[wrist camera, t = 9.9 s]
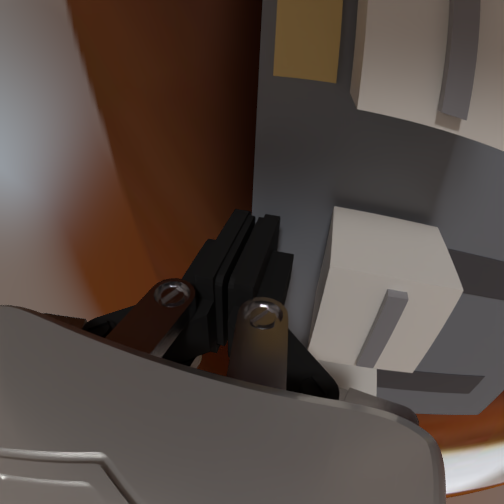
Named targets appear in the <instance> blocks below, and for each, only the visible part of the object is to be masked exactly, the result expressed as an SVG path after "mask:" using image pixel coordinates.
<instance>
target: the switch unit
mask: <svg viewBox="0 0 504 504" xmlns="http://www.w3.org/2000/svg"><path fill="white" fill-rule="evenodd" d="M357 10H358V0H263V2H262V22H261V41H260V61H259V80H258V100H257V120H256V140H255V160H254V180H253V201H252V216H255V218H256V220H255V224H256V222H257V220H258V218H259V217H264V216H265V214H270V215H276V216H280V228H279V237H278V247H277V251H279V252H285V253H290V254H294V259H293V266H292V272H291V278H290V283H289V288H288V292H287V297H286V301H285V305H284V307H285V308H286V310H287V312H288V328H289V330H290V331H291V332H292V333H293V334H294V335H295V336H296V338H297V339H298V340H299V341H300V342H301V343H302V344H303V345H304V347H305V348H306V349H307V348H308V342H309V336H310V329H311V323H312V317H313V310H314V303H315V296H316V290H317V286H318V281H319V277H320V272H321V268H322V263H323V259H324V254H325V249H326V244H327V240H328V235H329V230H330V225H331V220H332V214H333V209H334V206H337V207H342V208H348V209H353V210H358V211H363V212H369V213H374V214H379V215H383V216H388V217H393V218H398V219H403V220H407V221H412V222H416V223H421V224H425V225H430V226H434V227H438V229H439V231H440V233H441V236H442V238H443V240H444V243H445V245H446V247H447V249H448V252H449V254H450V257H451V259H452V261H453V264H454V266H455V269H456V272H457V274H458V277H459V279H460V282H461V285H462V287H463V290H464V291H463V293H462V295H461V296H460V298H459V300H458V302H457V304H456V305H455V307H454V309H453V311H452V312H451V314H450V316H449V318H448V319H447V321H446V323H445V324H444V326H443V328H442V329H441V331H440V332H439V334H438V336H437V337H436V339H435V340H434V342H433V344H432V345H431V347H430V348H429V350H428V351H427V353H426V354H425V356H424V357H423V359H422V360H421V362H420V363H419V364H418V366H417V367H416V369H415V370H414V372H413V373H408V372H399V371H390V370H382V369H377V394H376V397H379V398H382V399H385V400H388V401H391V402H394V403H397V404H400V405H403V406H406V407H408V408H410V409H411V410H412V411H413V412H414V413H420V414H449V415H477V414H479V413H480V412H481V411H482V410H484V409H485V408H486V407H487V406H488V405H489V404H490V403H491V402H492V401H493V400H494V399H495V398H496V397H497V396H498V395H499V394H500V393H501V392H502V391H503V390H504V151H502V150H499V149H497V148H494V147H491V146H489V145H486V144H483V143H480V142H478V141H475V140H472V139H469V138H466V137H463V136H460V135H457V134H454V133H450V132H447V131H444V130H441V129H437V128H434V127H430V126H427V125H423V124H419V123H415V122H412V121H408V120H404V119H400V118H395V117H391V116H387V115H382V114H378V113H373V112H368V111H363V110H358V109H357V108H356V106H355V103H354V101H353V99H352V96H351V94H350V87H351V78H352V69H353V59H354V48H355V37H356V24H357Z"/></svg>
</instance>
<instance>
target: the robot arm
mask: <svg viewBox="0 0 504 504" xmlns="http://www.w3.org/2000/svg"><path fill="white" fill-rule="evenodd" d="M255 220H256V218H255V216H252V215H251V212H250V211H245V210H238V209H235V210H234V212H233V213H232V215H231V217H230V218H229V220H228V221H227V223H226V225H225V226H224V228H223V229H222V231H221V233H220V234H219V236H218V237H217V239H216V240H213V239H208V240H207V241H206V242H205V244H204V245H203V247H202V248H201V250H200V251H199V253H198V254H197V256H196V257H195V259H194V261H193V262H192V264H191V265H190V267H189V268H188V270H187V271H186V273H185V275H184V276H183V278H182V279H178V278H171V279H166V280H163V281H161V282H158V283H157V284H156V285H154V286H153V287H152V288H151V289H150V290H149V291H148V293H147V294H146V295H145V296H144V297H143V298H142V299H141V300H140V301H139V302H138V303H137V304H136V305H134V306H131V307H128V308H125V309H122V310H119V311H115V312H112V313H109V314H106V315H103V316H100V317H97V318H94V319H92V320H90V321H89V322H87V321H86V319H82V318H75V317H68V316H60V315H55V314H48V313H40V312H37V311H34V310H31V309H27V308H24V307H19V306H12V305H0V504H446V480H445V469H444V463H443V458H442V454H441V451H440V448H439V446H438V444H437V442H436V441H435V439H434V438H433V437H432V436H431V435H430V434H429V433H428V432H426V431H425V430H424V429H422V428H421V427H419V421H418V418H417V416H416V414H415V413H414V412H413V411H412V410H411V409H410V408H408V407H406V406H403V405H400V404H397V403H394V402H391V401H388V400H385V399H382V398H379V397H376V396H373V395H370V394H367V393H364V392H362V391H359V390H356V389H353V388H349V390H346V389H343V388H341V387H338V385H337V383H336V382H335V380H334V379H333V378H332V377H331V376H330V374H329V373H328V372H327V371H326V370H325V369H324V368H323V367H322V366H321V364H320V363H319V362H318V361H317V360H316V359H315V358H314V357H313V355H312V354H311V353H310V352H309V351H308V350H307V349H306V348H305V347H304V345H303V344H302V343H301V342H300V341H299V340H298V339H297V338H296V336H295V335H294V334H293V333H292V332H291V331H290V330H289V328H288V312H287V310H286V308H285V307H284V305H285V301H286V297H287V292H288V288H289V283H290V278H291V272H292V266H293V259H294V254H290V253H285V252H279V251H277V247H278V237H279V228H280V216H276V215H270V214H265V216H264V217H259V218H258V220H257V222H256V224H255ZM227 340H228V357H229V358H230V360H229V365H228V371H227V377H225V376H222V375H218V374H214V373H211V372H207V371H203V370H200V369H196V368H197V367H198V365H199V364H200V362H201V359H202V354H205V353H208V352H210V351H211V352H214V353H217V351H218V349H219V346H220V345H223V346H225V345H226V342H227Z"/></svg>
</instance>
